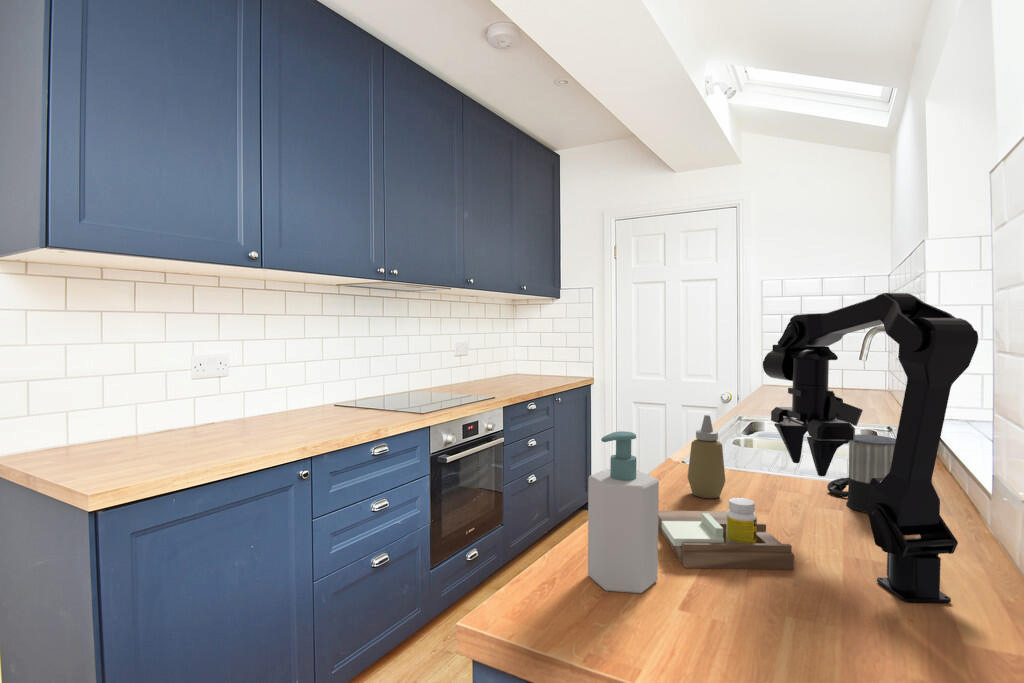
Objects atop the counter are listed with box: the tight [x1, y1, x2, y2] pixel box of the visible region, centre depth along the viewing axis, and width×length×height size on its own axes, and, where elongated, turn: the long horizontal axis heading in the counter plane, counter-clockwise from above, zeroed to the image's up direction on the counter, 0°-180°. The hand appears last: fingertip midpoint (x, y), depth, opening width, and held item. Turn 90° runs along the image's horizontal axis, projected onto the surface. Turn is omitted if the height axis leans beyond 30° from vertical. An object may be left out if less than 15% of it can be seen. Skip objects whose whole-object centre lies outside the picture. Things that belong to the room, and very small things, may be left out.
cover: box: [662, 513, 724, 546], centre depth 94 cm, size 8×8×3 cm
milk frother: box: [827, 434, 896, 514], centre depth 121 cm, size 14×16×15 cm
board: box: [658, 510, 795, 570], centre depth 98 cm, size 20×17×3 cm
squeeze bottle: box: [687, 414, 726, 499], centre depth 126 cm, size 8×8×18 cm
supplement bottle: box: [726, 497, 758, 543], centre depth 94 cm, size 5×5×8 cm
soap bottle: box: [587, 430, 660, 594], centre depth 84 cm, size 10×9×22 cm
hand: (808, 469), depth 102 cm, fingers open, 9 cm apart
